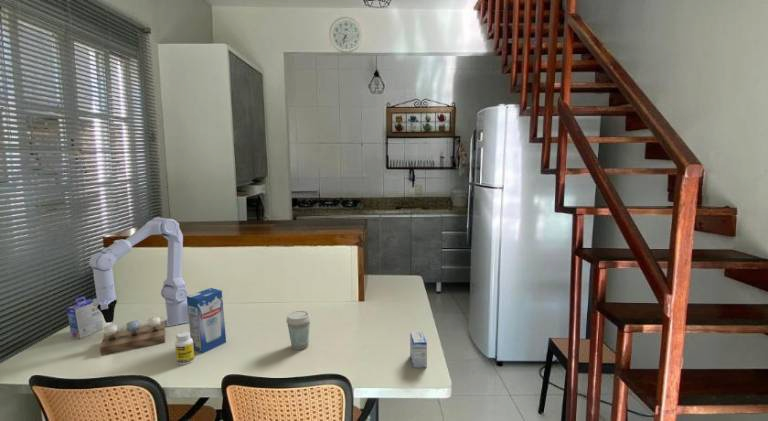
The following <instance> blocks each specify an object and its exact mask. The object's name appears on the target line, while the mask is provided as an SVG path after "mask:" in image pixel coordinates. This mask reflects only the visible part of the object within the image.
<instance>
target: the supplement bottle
mask: <svg viewBox="0 0 768 421" xmlns="http://www.w3.org/2000/svg"><path fill="white" fill-rule="evenodd" d="M174 344H175V354H176V355H175V356H176V362H177V364H178V365H181V366H182V365H188V364H191V363H193V362H194V361H195V350H194V348H193V340H192V338H191V335H190V331H182V332H178V333H177V334H176V341H175V343H174Z"/></svg>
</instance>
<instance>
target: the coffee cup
mask: <svg viewBox="0 0 768 421" xmlns="http://www.w3.org/2000/svg"><path fill="white" fill-rule="evenodd" d="M311 319H312V318H311V315H310V313H309V312H308V311H305V310H297V311H292V312H289V313H288V314H287V317H286V323H287V329H288V333H289V334H288V335H289V339H290V343H291V349H292V350H295V351H303V350H305V349H308V347H309V340H310V339H309V338H310V323H311Z"/></svg>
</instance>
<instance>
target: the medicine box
mask: <svg viewBox="0 0 768 421" xmlns="http://www.w3.org/2000/svg"><path fill="white" fill-rule="evenodd" d="M409 336H410V337H409V338H410V339H409V345H410V346H409V354H410V355H409V356H410V359H411V363H412V366H413V368H427V367H428V343H427V341H426V337H425V334H424V332H423V331H411V332H410V333H409Z"/></svg>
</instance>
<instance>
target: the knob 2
mask: <svg viewBox="0 0 768 421" xmlns="http://www.w3.org/2000/svg"><path fill="white" fill-rule="evenodd" d="M147 321H148V322H147V324H148V326H149V327H153V331H156V330H157V326H159V325H160V324H162V323H161V317H160V316H154V317H150V318H148V320H147Z"/></svg>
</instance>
